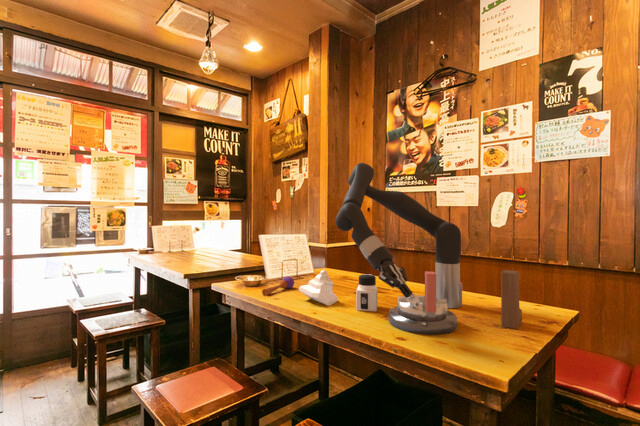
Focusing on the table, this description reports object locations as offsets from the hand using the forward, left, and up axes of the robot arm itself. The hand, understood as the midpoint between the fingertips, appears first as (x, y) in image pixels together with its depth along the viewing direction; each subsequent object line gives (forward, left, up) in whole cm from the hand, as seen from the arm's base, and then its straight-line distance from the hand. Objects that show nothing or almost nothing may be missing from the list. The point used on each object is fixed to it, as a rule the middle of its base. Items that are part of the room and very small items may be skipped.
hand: (409, 295), depth 101 cm
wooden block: (-37, -5, -12) cm, 40 cm away
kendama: (+40, -61, -12) cm, 74 cm away
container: (+6, -29, -12) cm, 32 cm away
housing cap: (-8, -10, -12) cm, 18 cm away
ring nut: (-7, -5, -9) cm, 12 cm away
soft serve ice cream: (+23, -41, -12) cm, 48 cm away
